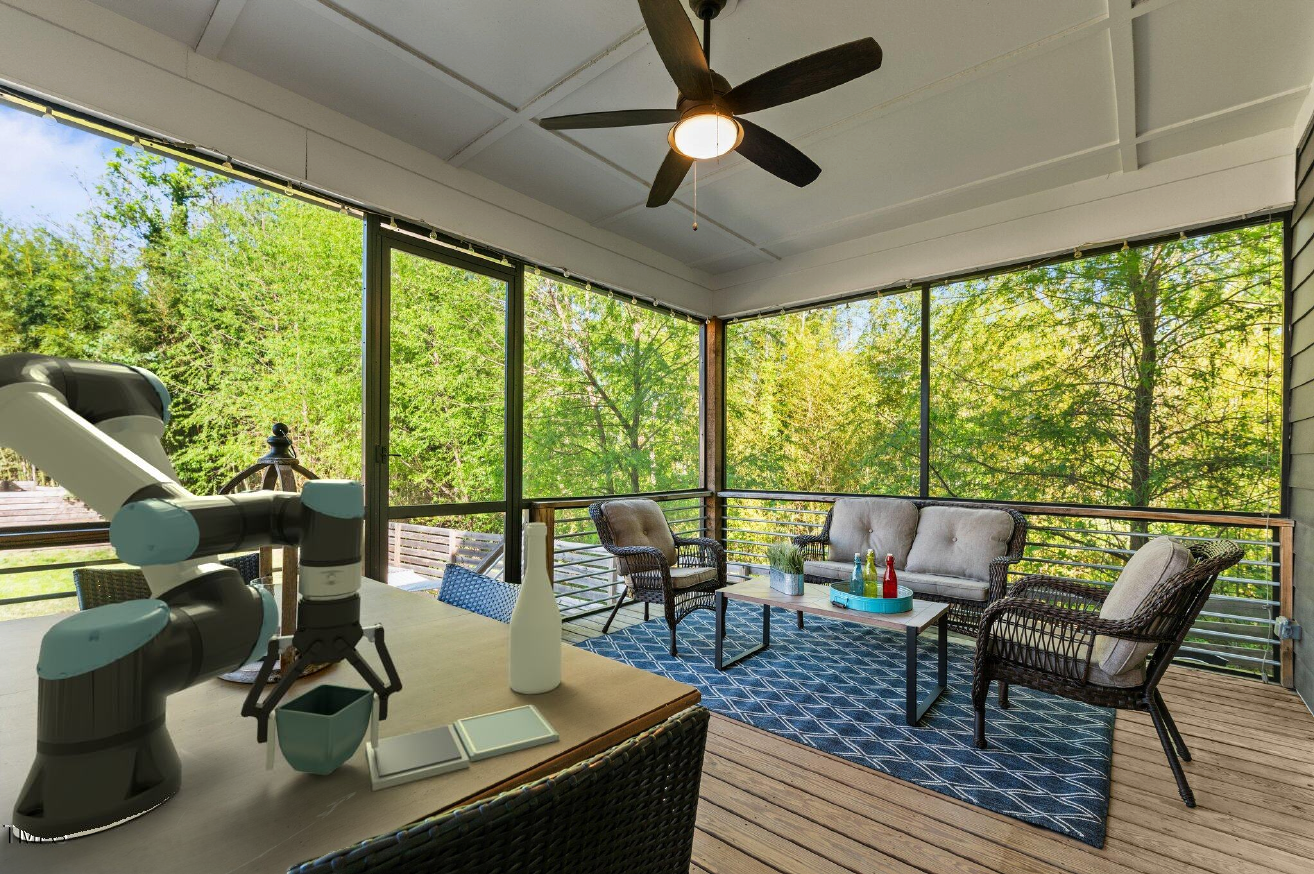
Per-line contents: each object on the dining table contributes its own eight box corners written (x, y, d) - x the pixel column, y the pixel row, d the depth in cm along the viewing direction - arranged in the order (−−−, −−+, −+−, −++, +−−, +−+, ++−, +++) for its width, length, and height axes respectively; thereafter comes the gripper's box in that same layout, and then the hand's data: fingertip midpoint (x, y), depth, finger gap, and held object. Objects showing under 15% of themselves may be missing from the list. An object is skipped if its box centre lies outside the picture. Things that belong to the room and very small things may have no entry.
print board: (470, 761, 83) (470, 754, 83) (453, 726, 94) (453, 720, 94) (558, 740, 90) (558, 733, 90) (533, 709, 100) (533, 703, 100)
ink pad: (372, 790, 76) (372, 780, 76) (365, 749, 87) (366, 740, 87) (468, 766, 82) (468, 757, 82) (451, 730, 92) (451, 722, 92)
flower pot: (329, 787, 76) (332, 716, 76) (269, 778, 77) (272, 708, 77) (373, 753, 84) (376, 689, 84) (319, 745, 86) (322, 682, 86)
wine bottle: (516, 675, 115) (518, 520, 116) (565, 676, 115) (567, 520, 116) (502, 695, 106) (504, 526, 106) (555, 696, 106) (557, 527, 106)
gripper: (218, 610, 72) (210, 791, 72) (427, 591, 84) (421, 746, 83) (226, 595, 78) (219, 761, 78) (419, 579, 90) (414, 724, 90)
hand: (324, 754), depth 81 cm, fingers closed on flower pot, 12 cm apart
